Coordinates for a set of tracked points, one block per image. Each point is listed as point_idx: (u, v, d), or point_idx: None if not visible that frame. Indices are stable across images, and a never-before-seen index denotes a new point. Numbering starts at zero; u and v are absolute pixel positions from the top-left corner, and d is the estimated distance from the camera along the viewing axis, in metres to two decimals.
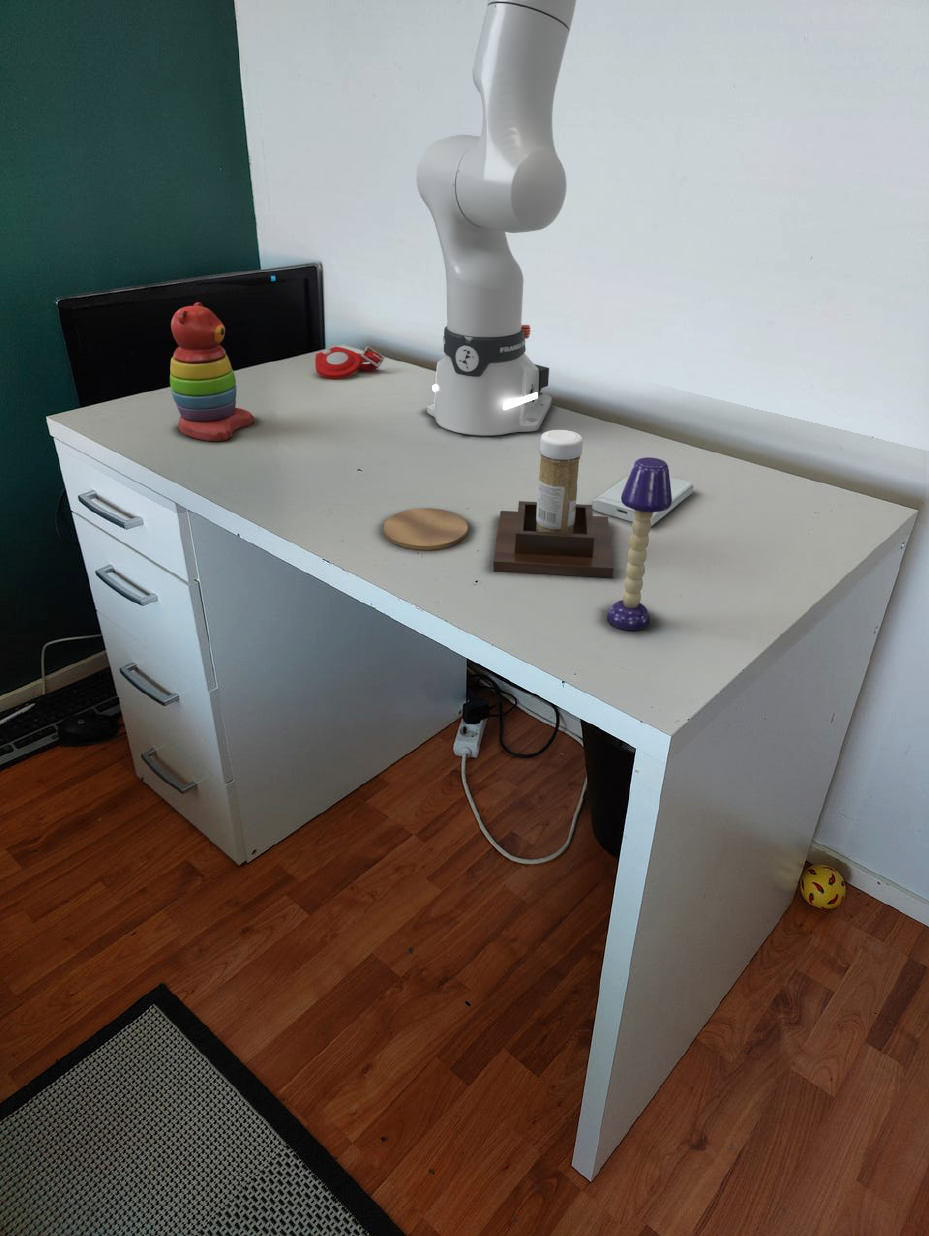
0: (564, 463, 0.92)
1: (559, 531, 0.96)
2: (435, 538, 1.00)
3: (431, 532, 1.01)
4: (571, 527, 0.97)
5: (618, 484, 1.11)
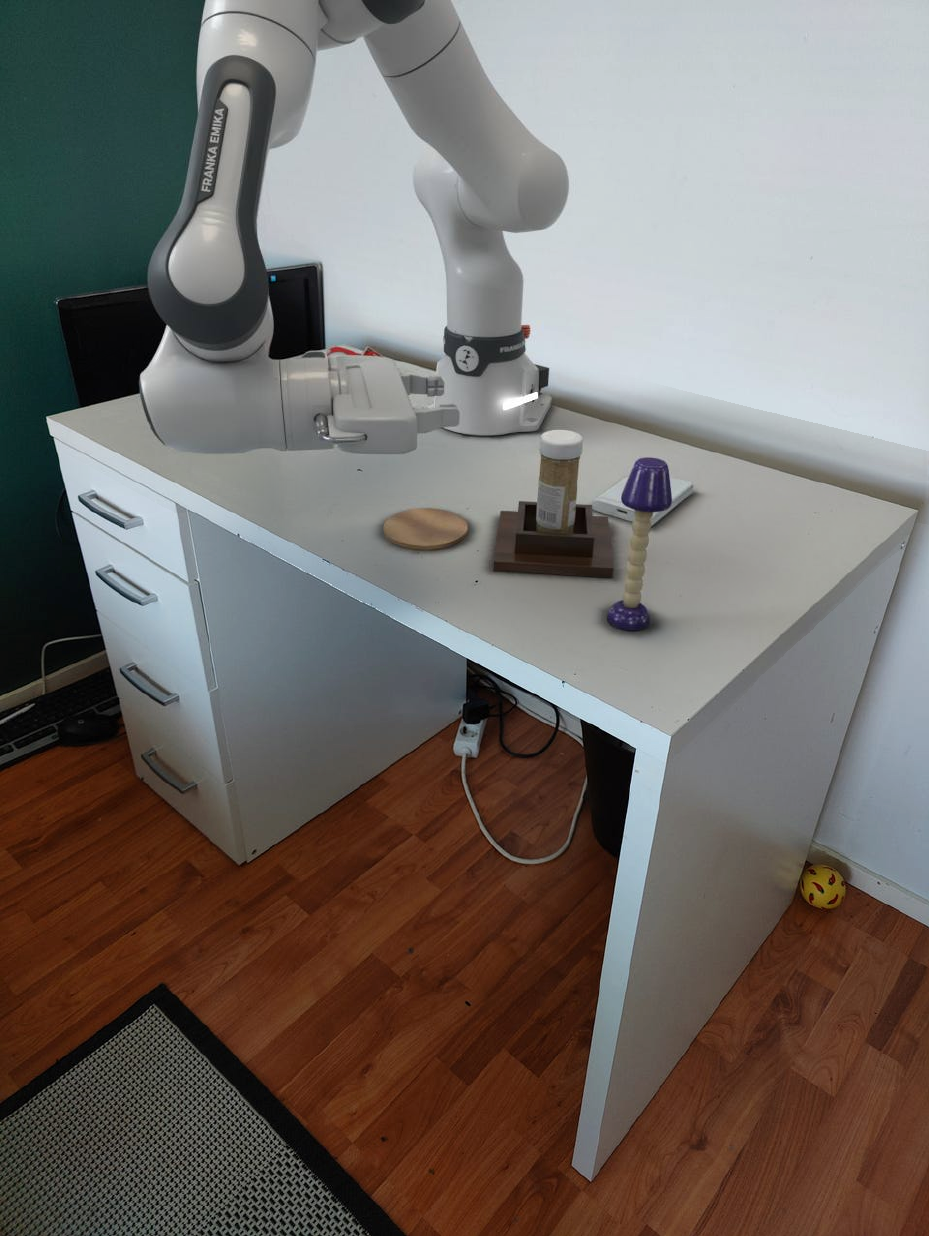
0: (564, 463, 0.92)
1: (559, 531, 0.96)
2: (435, 538, 1.00)
3: (431, 532, 1.01)
4: (571, 527, 0.97)
5: (618, 484, 1.11)
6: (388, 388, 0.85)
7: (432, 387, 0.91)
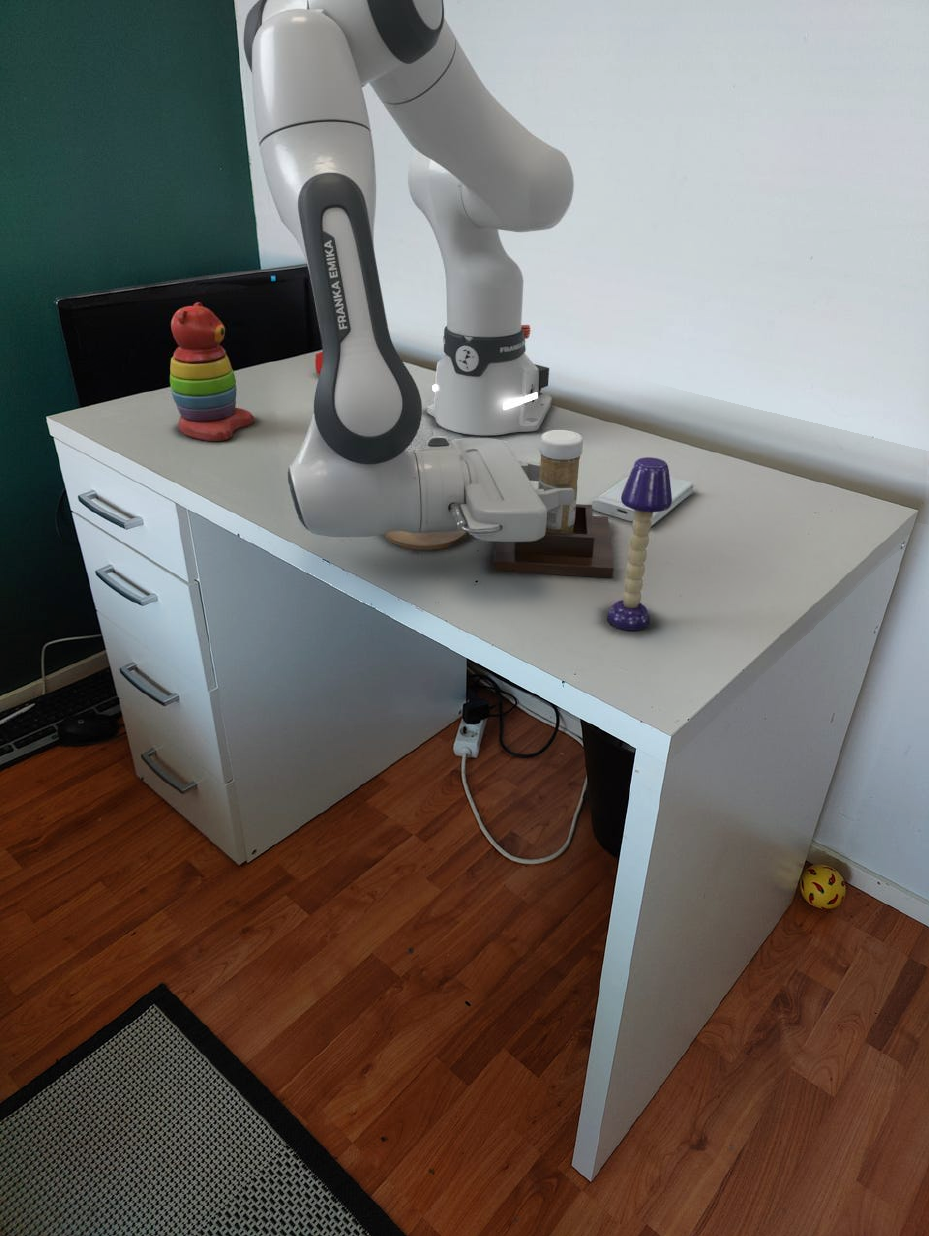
0: (564, 463, 0.92)
1: (559, 531, 0.96)
2: (435, 538, 1.00)
3: (431, 532, 1.01)
4: (571, 527, 0.97)
5: (618, 484, 1.11)
6: (512, 476, 0.92)
7: None
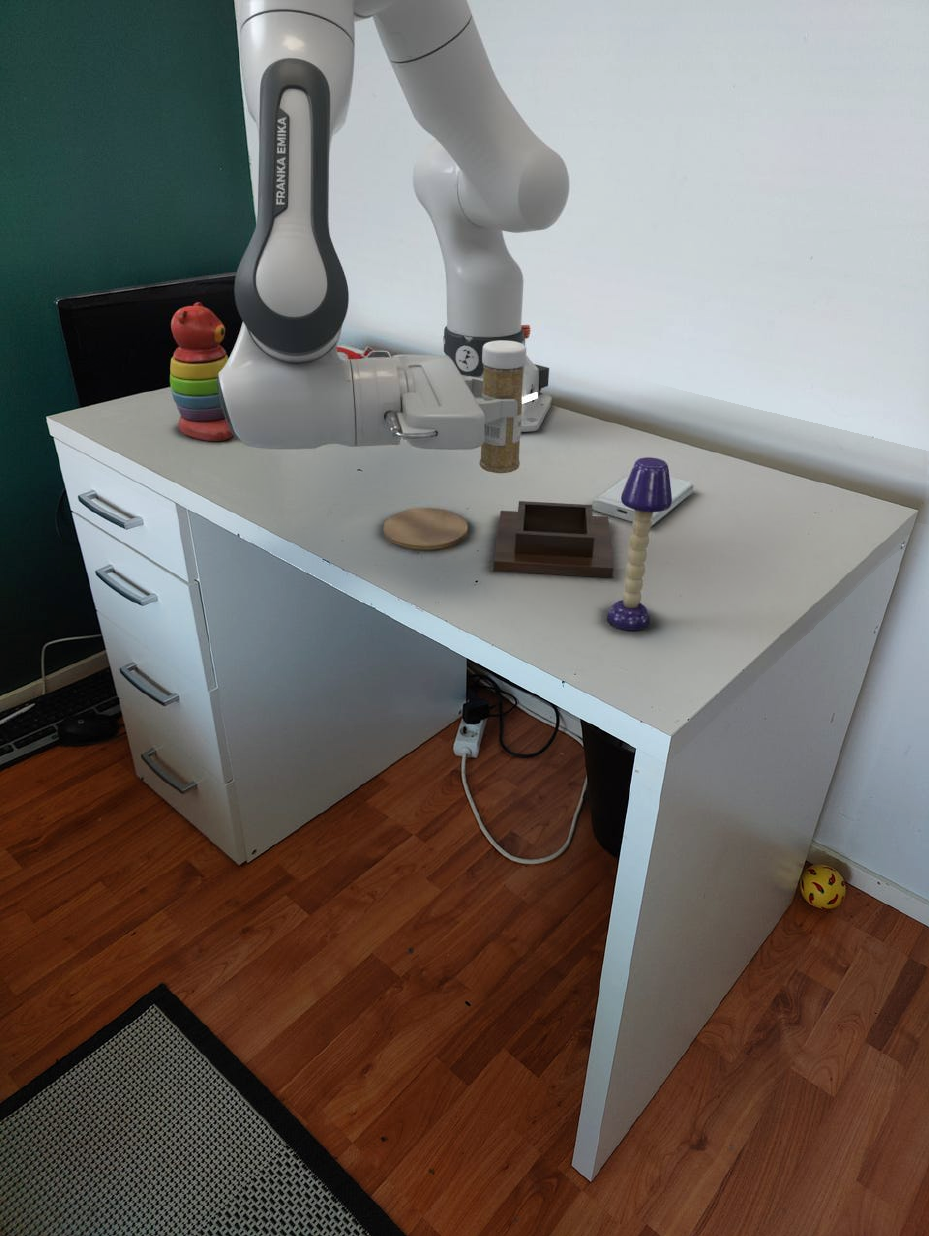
0: (506, 372, 0.88)
1: (504, 448, 0.93)
2: (435, 538, 1.00)
3: (431, 532, 1.01)
4: (516, 444, 0.93)
5: (618, 484, 1.11)
6: (452, 387, 0.89)
7: None
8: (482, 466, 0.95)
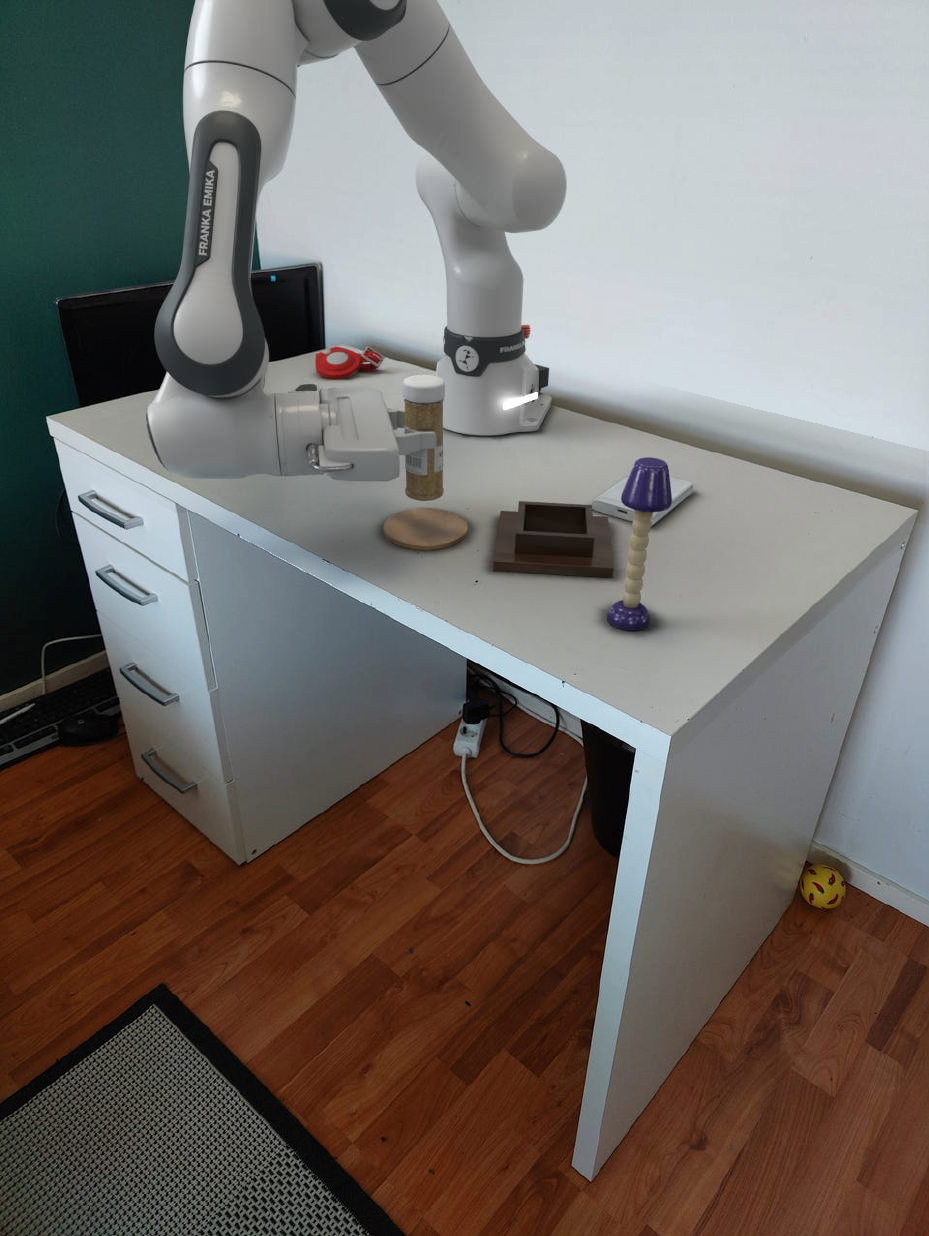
0: (425, 406, 0.92)
1: (426, 477, 0.97)
2: (435, 538, 1.00)
3: (431, 532, 1.01)
4: (439, 473, 0.97)
5: (618, 484, 1.11)
6: (374, 420, 0.93)
7: None
8: (407, 494, 0.99)
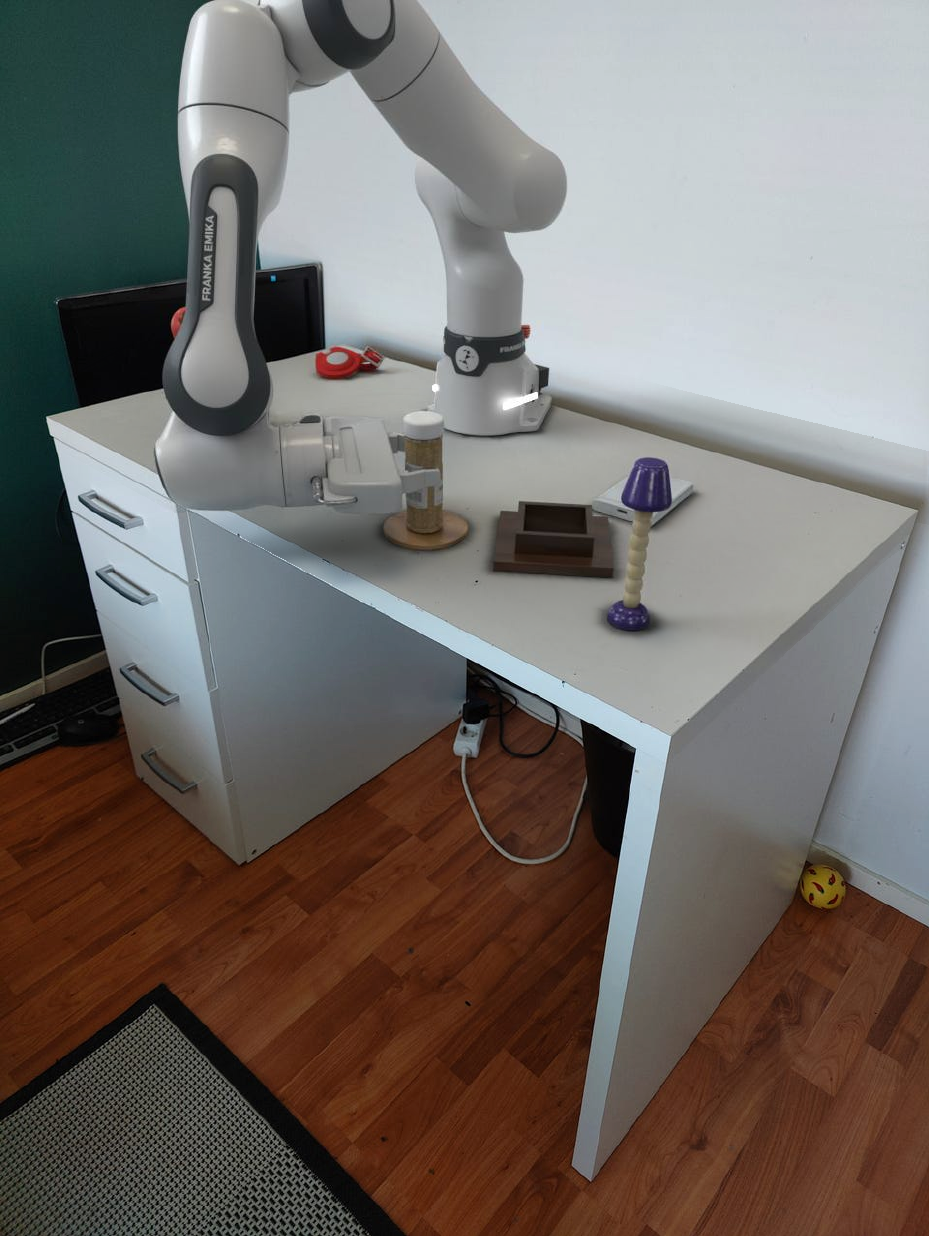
0: (425, 443, 0.94)
1: (426, 510, 0.99)
2: (435, 538, 1.00)
3: None
4: (439, 506, 0.99)
5: (618, 484, 1.11)
6: (377, 452, 0.95)
7: None
8: (408, 526, 1.01)
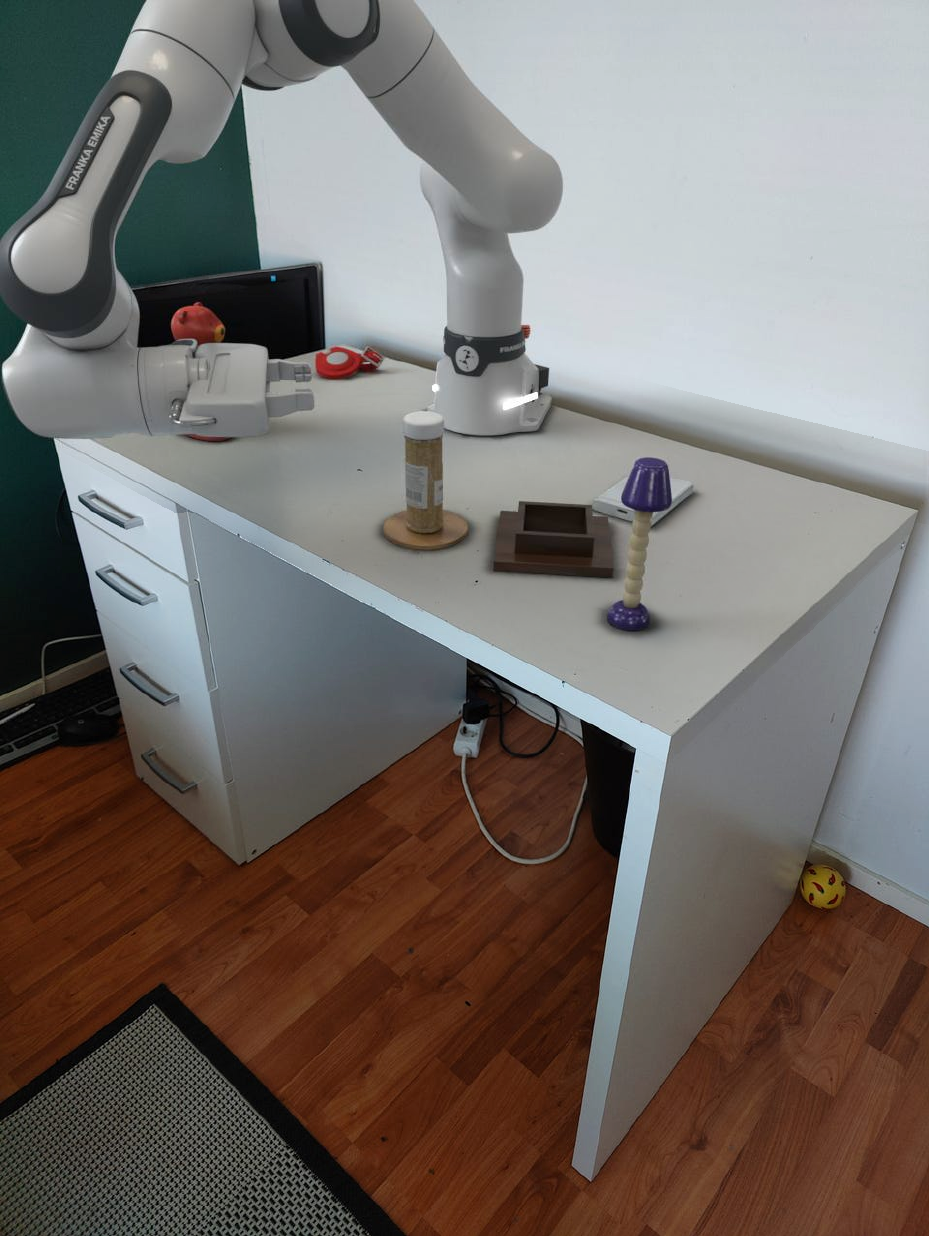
0: (425, 443, 0.94)
1: (426, 510, 0.99)
2: (435, 538, 1.00)
3: None
4: (439, 506, 0.99)
5: (618, 484, 1.11)
6: (247, 374, 0.88)
7: (300, 373, 0.94)
8: (408, 526, 1.01)
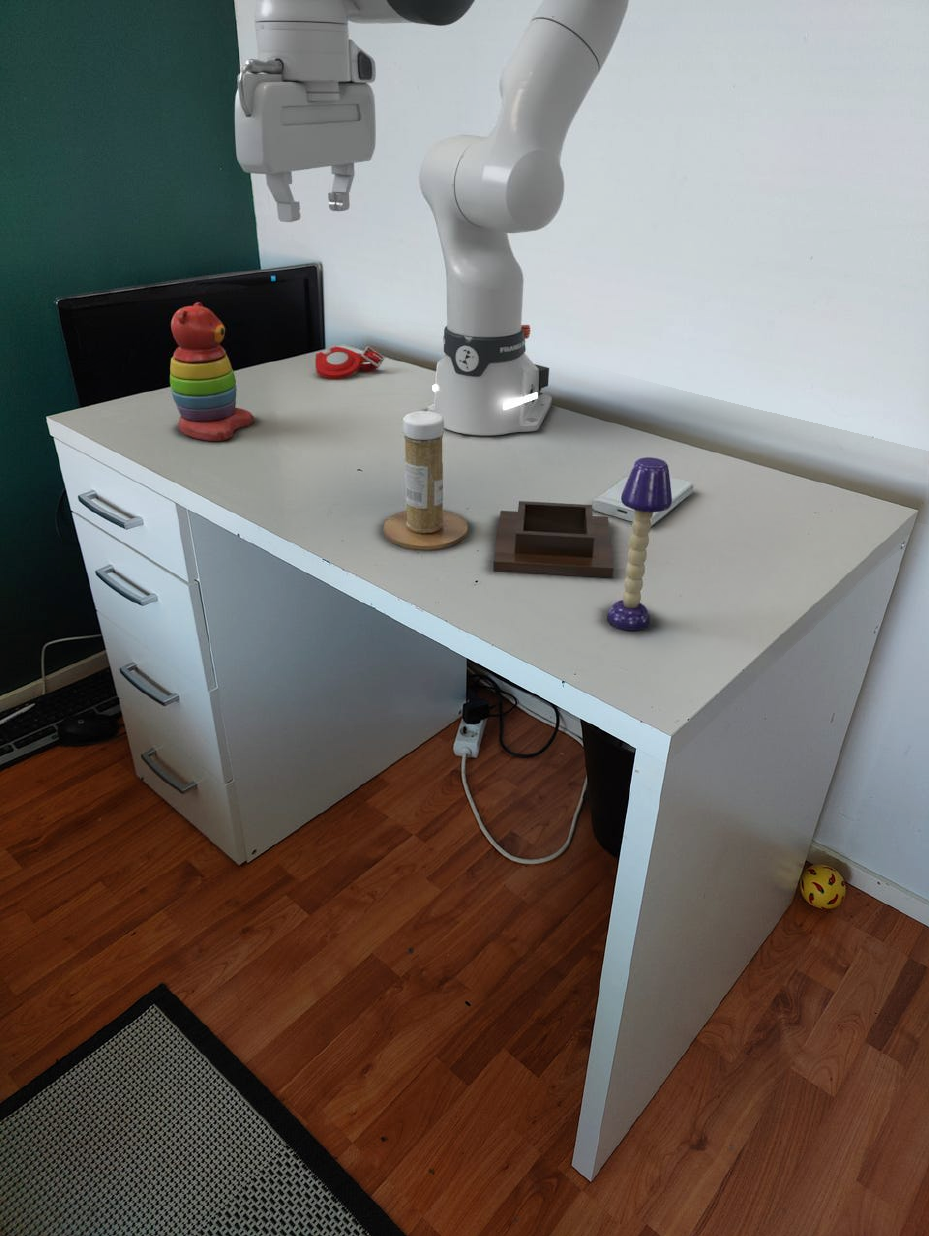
0: (425, 443, 0.94)
1: (426, 510, 0.99)
2: (435, 538, 1.00)
3: None
4: (439, 506, 0.99)
5: (618, 484, 1.11)
6: (317, 147, 0.86)
7: (336, 198, 0.94)
8: (408, 526, 1.01)
